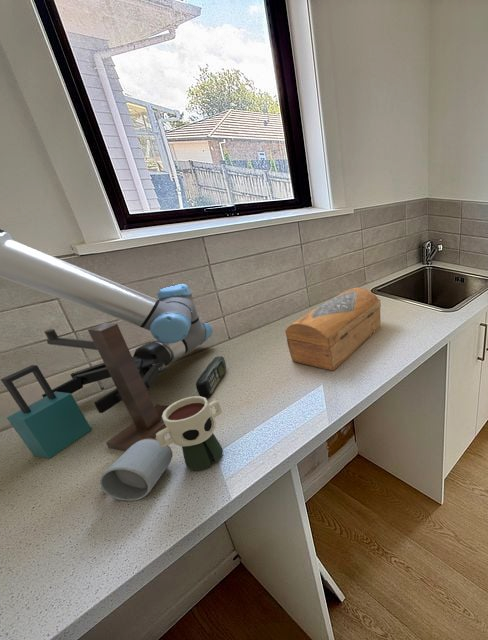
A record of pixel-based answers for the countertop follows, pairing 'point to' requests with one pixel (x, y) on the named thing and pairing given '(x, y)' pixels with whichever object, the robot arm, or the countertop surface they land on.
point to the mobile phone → (211, 377)
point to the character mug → (192, 430)
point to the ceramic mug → (136, 470)
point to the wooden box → (334, 329)
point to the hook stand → (121, 383)
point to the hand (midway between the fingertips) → (71, 404)
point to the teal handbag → (46, 417)
